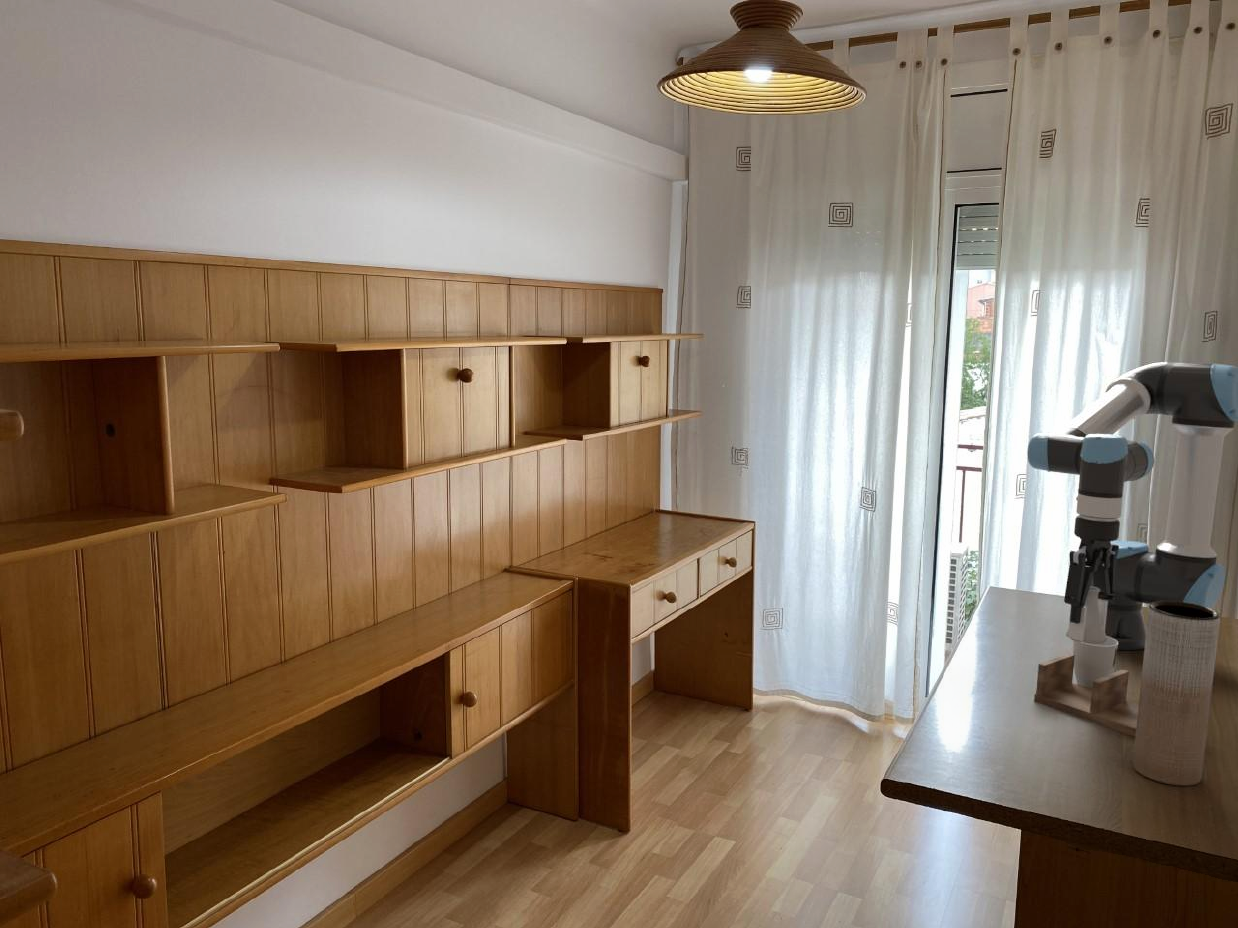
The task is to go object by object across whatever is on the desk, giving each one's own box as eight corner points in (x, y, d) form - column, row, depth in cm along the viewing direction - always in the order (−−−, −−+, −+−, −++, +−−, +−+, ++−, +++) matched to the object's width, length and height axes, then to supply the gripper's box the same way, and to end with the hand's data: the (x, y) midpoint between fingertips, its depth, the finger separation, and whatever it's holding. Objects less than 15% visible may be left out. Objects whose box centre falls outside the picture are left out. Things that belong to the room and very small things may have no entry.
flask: (1109, 647, 182) (1114, 595, 180) (1067, 642, 184) (1072, 590, 183) (1104, 635, 189) (1109, 585, 187) (1063, 630, 191) (1068, 581, 190)
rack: (1067, 688, 197) (1070, 652, 196) (1185, 727, 179) (1189, 688, 178) (1033, 701, 190) (1037, 664, 189) (1153, 743, 172) (1158, 702, 171)
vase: (1200, 792, 154) (1220, 622, 150) (1129, 776, 159) (1147, 611, 155) (1202, 768, 162) (1220, 607, 158) (1135, 753, 167) (1151, 596, 163)
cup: (1118, 696, 193) (1123, 647, 192) (1074, 692, 195) (1079, 644, 193) (1107, 681, 201) (1111, 634, 199) (1064, 677, 203) (1069, 631, 201)
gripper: (1105, 508, 192) (1094, 621, 195) (1050, 519, 180) (1039, 639, 183) (1144, 515, 186) (1132, 631, 189) (1089, 526, 174) (1078, 650, 178)
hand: (1086, 635), depth 186 cm, fingers closed on flask, 7 cm apart
